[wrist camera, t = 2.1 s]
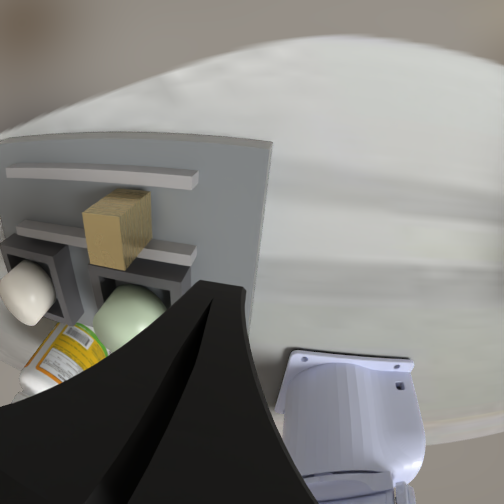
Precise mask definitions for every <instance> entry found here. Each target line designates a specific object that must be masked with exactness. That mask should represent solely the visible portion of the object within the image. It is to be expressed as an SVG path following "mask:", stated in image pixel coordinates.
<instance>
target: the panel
mask: <svg viewBox="0 0 504 504" xmlns="http://www.w3.org/2000/svg"><path fill="white" fill-rule="evenodd" d="M272 145H273V142H268V141H260V140H251V139H242V138H232V137H222V136H210V135H196V134H179V133H156V132H84V133H61V134H46V135H33V136H23V137H13V138H8V139H5V140H2V141H0V217H1V222H2V226H3V230H4V234H5V238H6V239H5V240H4V241H3V242H1V243H0V248H1V252H2V255H3V259H4V262H5V265H6V268H7V271H8V273H9V272H10V271H11V270H12V269H13V268H14V267H16V266H17V265H18V264H19V263H20V262H21V261H23V260H31V261H33V262H35V263H37V264H38V265H39V266H40V267H42V268H43V269H44V271H45V272H46V273H47V274H48V276H49V277H50V279H51V280H52V282H53V285H54V288H55V291H56V301H55V303H54V304H53V305H52V306H51V307H50V308H49V310H48V311H47V312H46V313H45V314H44V315H43V317H46V318H48V319H51V320H54V321H57V322H60V323H63V324H66V325H69V326H72V327H74V325H75V324H76V323H81V324H84V325H87V326H90V327H93V318H94V316H95V315H96V313H97V312H98V311H99V309H100V308H101V307H102V305H103V304H104V303H105V301H106V300H107V299H108V297H109V296H110V295H111V293H112V292H113V291H114V290H115V289H116V288H117V287H118V286H120V285H123V284H135V285H139V286H141V287H144V288H146V289H148V290H149V291H151V292H152V293H154V294H155V295H156V296H157V297H158V298H159V299H160V300H161V301H162V302H163V304H164V305H165V307H166V309H168V308H170V307H171V306H172V305H173V304H174V303H175V302H176V301H177V300H178V299H179V298H180V297H181V296H183V295H184V294H185V293H186V292H187V291H188V290H189V289H190V288H191V287H192V286H193V285H194V284H195V283H196V282H197V281H199V280H205V281H211V282H217V283H223V284H230V285H236V286H242V287H244V288H245V289H246V291H247V292H246V301H245V318H246V327H247V333H248V337H249V329H250V321H251V314H252V306H253V298H254V290H255V282H256V274H257V267H258V259H259V251H260V243H261V235H262V227H263V219H264V211H265V202H266V194H267V186H268V178H269V170H270V161H271V153H272ZM117 188H120V189H131V190H142V191H151V218H152V239H151V240H150V242H149V243H148V244H147V245H146V246H145V247H144V249H143V250H142V251H141V252H140V253H139V255H138V256H137V257H136V258H135V259H134V261H133V262H132V263H131V264H130V265H129V267H128V268H127V269H126V270H125V271H124V270H118V269H113V268H109V267H104V266H99V265H94V264H90V259H89V254H88V248H87V242H86V236H85V230H84V223H83V216H82V212H84V211H85V210H87V209H88V208H89V207H91V206H92V205H94V204H95V203H96V202H98V201H99V200H101V199H102V198H104V197H105V196H107V195H108V194H110V193H111V192H112V191H114V190H115V189H117Z"/></svg>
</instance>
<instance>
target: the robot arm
mask: <svg viewBox="0 0 504 504" xmlns="http://www.w3.org/2000/svg"><path fill="white" fill-rule="evenodd" d="M246 292H247V291H246V289H245V288H244V287H242V286H236V285H230V284H223V283H217V282H211V281H205V280H199V281H197V282H196V283H195V284H194V285H193V286H192V287H191V288H190V289H189V290H188V291H187V292H186V293H185V294H184V295H183V296H181V297H180V298H179V299H178V300H177V301H176V302H175V303H174V304H173V305H172V306H171V307H170V308H168V309H167V310H166V311H165V312H164V313H163V314H162V315H160V316H159V317H158V318H157V319H156V320H155V321H154V322H152V323H151V324H150V325H149V326H148V327H146V328H145V329H144V330H142V331H141V332H140V333H139V334H137V335H136V336H135V337H134V338H132V339H131V340H130V341H128V342H127V343H126V344H124V345H123V346H122V347H120V348H119V349H117V350H116V351H115V352H113V353H112V354H110V355H109V356H107V357H106V358H104V359H102V360H101V361H99V362H98V363H96V364H95V365H93V366H91V367H89V368H88V369H86V370H84V371H82V372H81V373H79V374H77V375H75V376H73V377H72V378H70V379H68V380H66V381H64V382H62V383H60V384H58V385H56V386H54V387H51V388H49V389H47V390H45V391H42V392H40V393H38V394H35V395H33V396H31V397H28V398H25V399H23V400H20V401H17V402H14V403H12V404H9V405H5V406H2V407H0V504H395V499H396V504H416V500H415V494H414V489H413V487H411V486H409V485H408V483H409V482H410V481H411V480H413V478H414V477H415V476H416V475H417V473H418V472H419V469H420V468H421V465H422V462H423V458H424V453H425V432H424V426H423V422H422V417H421V413H420V409H419V404H418V400H417V396H416V392H415V388H414V384H413V381H412V377H411V373H410V372H411V371H412V369H413V367H414V362H413V361H412V360H408V359H389V358H374V357H361V356H349V355H338V354H328V353H319V352H310V351H302V350H295V351H292V352H291V354H290V357H289V360H288V364H287V367H286V371H285V374H284V378H283V381H282V385H281V388H280V392H279V395H278V398H277V402H276V405H275V412H277V413H281V414H284V425H283V437H282V438H281V436H280V433H279V431H278V429H277V427H276V425H275V422H274V420H273V418H272V415H271V413H270V410H269V408H268V405H267V402H266V400H265V397H264V394H263V391H262V388H261V385H260V382H259V379H258V376H257V372H256V369H255V365H254V361H253V357H252V353H251V349H250V344H249V338H248V333H247V327H246V318H245V301H246ZM303 357H306V358H303ZM406 484H407V485H406ZM394 487H396V497H395V499H394Z"/></svg>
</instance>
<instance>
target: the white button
mask: <svg viewBox="0 0 504 504" xmlns="http://www.w3.org/2000/svg"><path fill="white" fill-rule="evenodd" d="M0 295H1V298H2V300H3V302H4V304H5V305H6V307H7V308H8V310H9V311H10V312H11V313H12V314H13V315H14V316H15V317H16V318H17V319H18V320H19V321H21V322H22V323H24V324H26V325H29V326H34V325H36V324H37V322H38V321H39V320H40V319H41V318H42V317H43V315H44V314H45V313H46V312H47V311H48V310H49V308H50V307H51V306H52V305H53V304H54V303H55V301H56V291H55V288H54V285H53V282H52V280H51V279H50V277H49V276H48V274H47V273H46V272H45V271H44V269H43V268H42V267H40V266H39V265H38V264H37V263H35V262H33V261H31V260H23V261H21V262H20V263H19V264H18V265H17V266H16V267H14V268H13V269H12V270H11V271H10V272H9V273H8V274H7V275H6V276H4V277H3V278H2V279H1V280H0Z"/></svg>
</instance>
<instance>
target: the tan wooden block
mask: <svg viewBox="0 0 504 504" xmlns="http://www.w3.org/2000/svg"><path fill="white" fill-rule="evenodd" d="M82 216H83V223H84V230H85V236H86V242H87V248H88V254H89V259H90V264H94V265H99V266H104V267H109V268H113V269H118V270H124V271H125V270H126V269H127V268H128V267H129V265H130V264H131V263H132V262H133V261H134V259H135V258H136V257H137V256H138V255H139V253H140V252H141V251H142V250H143V249H144V247H145V246H146V245H147V244H148V243H149V242H150V240H151V239H152V218H151V191H142V190H131V189H120V188H117V189H115V190H114V191H112V192H111V193H110V194H108V195H107V196H105V197H104V198H102V199H101V200H99V201H98V202H96V203H95V204H94V205H92V206H91V207H89V208H88V209H87V210H85V211H84V212H82Z"/></svg>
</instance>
